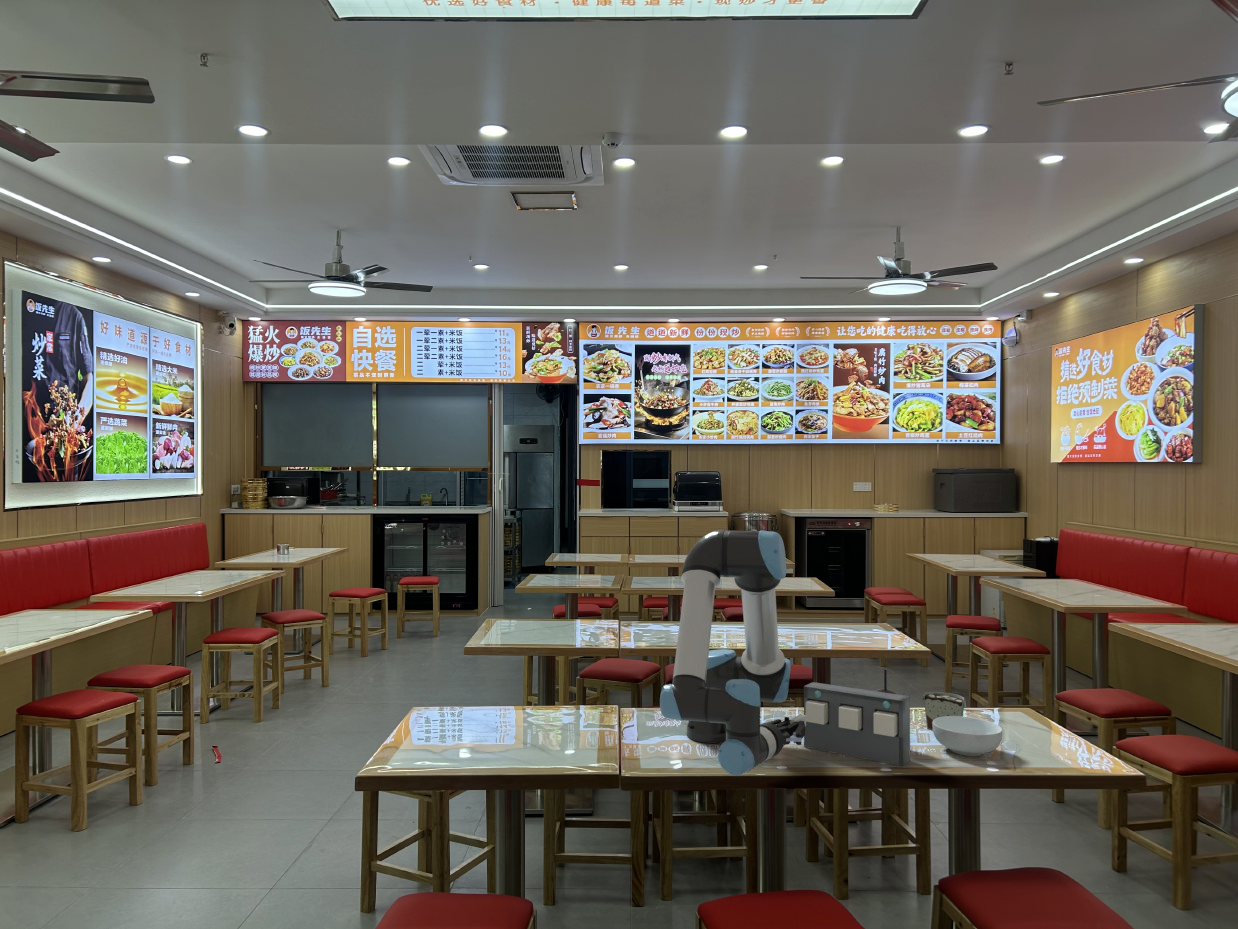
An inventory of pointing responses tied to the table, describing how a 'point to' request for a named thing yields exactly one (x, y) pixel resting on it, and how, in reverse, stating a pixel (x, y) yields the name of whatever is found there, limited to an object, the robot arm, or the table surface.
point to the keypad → (863, 739)
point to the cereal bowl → (967, 734)
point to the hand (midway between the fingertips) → (803, 720)
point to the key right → (886, 723)
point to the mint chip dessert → (942, 706)
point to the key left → (817, 711)
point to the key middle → (851, 717)
